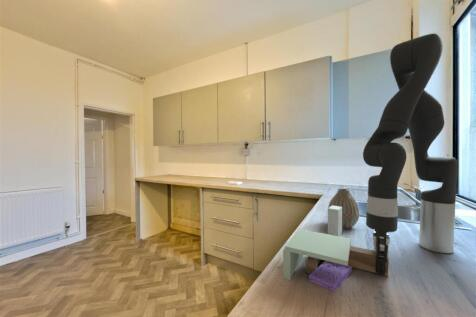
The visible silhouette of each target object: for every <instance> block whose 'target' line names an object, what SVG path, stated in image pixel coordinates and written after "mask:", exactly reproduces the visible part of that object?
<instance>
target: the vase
mask: <svg viewBox="0 0 476 317" xmlns="http://www.w3.org/2000/svg"><path fill="white" fill-rule="evenodd" d="M332 205H333V206H339V207H342V230H349V229H352V228H353V227H354V226H356V225H357V223H358V222H359V219H360V208H359V205H358V202H357V201H356V199H355V198H354V197H353V196H352V194H351V192H350V189H348V188H338V191H337V193H335V195H334V196H333V197H332V198H331V200H330V201H329V203H328V205H327V206H328V207H327V209H328V208H329V207H331V206H332Z"/></svg>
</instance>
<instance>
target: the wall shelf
mask: <svg viewBox="0 0 476 317" xmlns="http://www.w3.org/2000/svg"><path fill="white" fill-rule="evenodd" d="M350 246H352V238H349V237H348V238H347V237H344V236H340V237H339V236H334V235H328V233H322V232H315V231H311V230H306V229H301V228H299V229H298V230H297V231H296V232H295V234H294V235H293V236H292V237H291V238H290V240H289V241H288V242H287V243H286V244H285V245H284V248H283V249H282V278H284V279H287V280H291V278H293V275H294V273H295V272H296V270H297V268H298V267H299V265H300V263H301V261H302V260H303V257H304V256H306V257H308V256H309V257H314V258H318V259H320V260H322V261H330V262H334V263H338V264H342V265H346V266H348V260H349V253H350Z"/></svg>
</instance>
